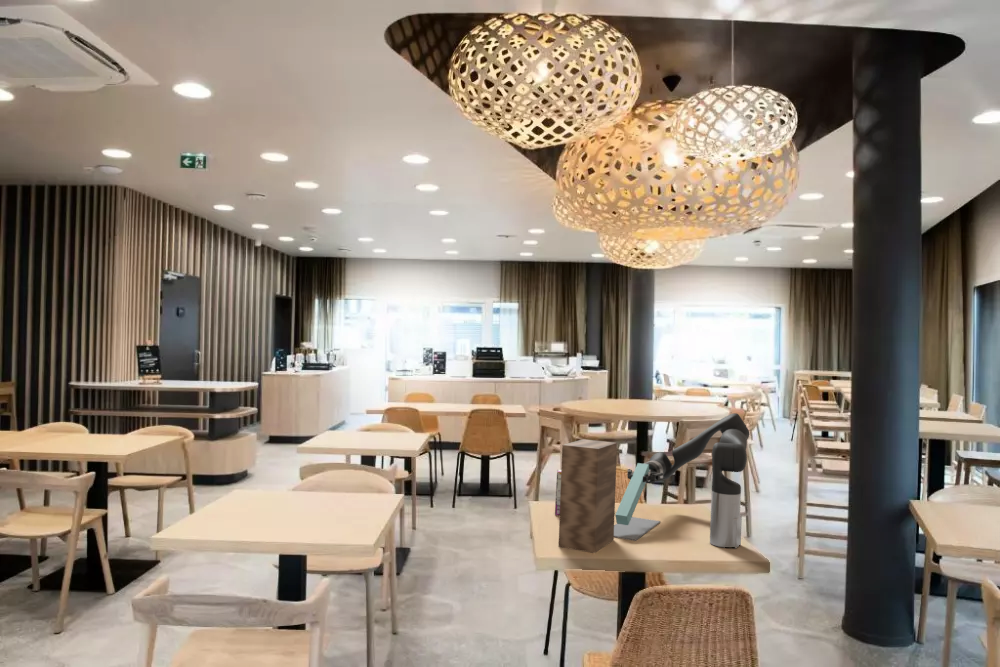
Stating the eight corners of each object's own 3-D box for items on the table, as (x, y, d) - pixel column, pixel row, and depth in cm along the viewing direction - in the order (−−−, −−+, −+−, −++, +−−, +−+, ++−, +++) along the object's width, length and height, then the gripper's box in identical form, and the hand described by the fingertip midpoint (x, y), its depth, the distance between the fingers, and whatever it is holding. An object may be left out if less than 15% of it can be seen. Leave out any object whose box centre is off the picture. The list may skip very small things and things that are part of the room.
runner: (660, 522, 265) (660, 521, 265) (635, 540, 239) (635, 539, 239) (628, 517, 271) (628, 516, 271) (601, 535, 244) (601, 533, 244)
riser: (613, 539, 239) (617, 442, 239) (594, 552, 223) (598, 448, 223) (579, 534, 244) (583, 439, 245) (558, 546, 228) (562, 444, 229)
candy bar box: (554, 515, 270) (556, 471, 270) (555, 512, 275) (556, 469, 275) (585, 517, 269) (586, 473, 269) (584, 514, 274) (586, 470, 274)
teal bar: (649, 473, 266) (648, 464, 264) (628, 525, 244) (626, 516, 242) (639, 471, 267) (637, 463, 266) (616, 523, 246) (615, 514, 244)
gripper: (669, 483, 271) (656, 491, 255) (632, 479, 277) (617, 486, 262) (669, 463, 271) (657, 470, 256) (632, 459, 277) (618, 465, 262)
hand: (637, 478), depth 259 cm, fingers closed on teal bar, 4 cm apart
